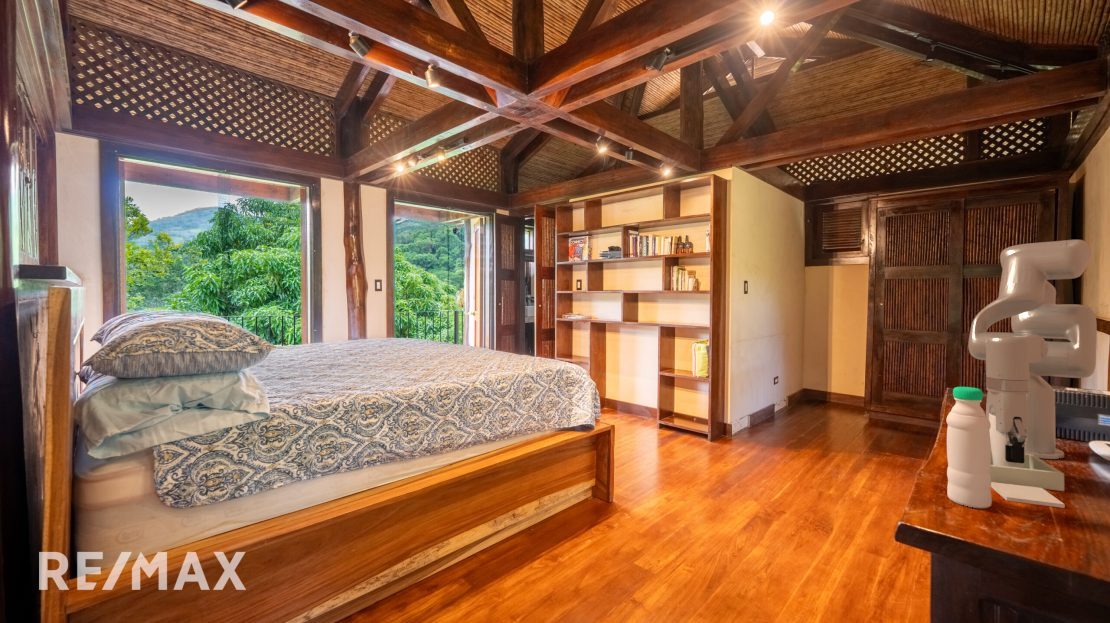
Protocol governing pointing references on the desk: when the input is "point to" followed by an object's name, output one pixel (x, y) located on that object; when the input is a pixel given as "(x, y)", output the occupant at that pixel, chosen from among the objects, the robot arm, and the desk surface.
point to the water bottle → (968, 450)
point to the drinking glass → (1001, 445)
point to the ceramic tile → (1026, 494)
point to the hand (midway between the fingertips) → (1008, 456)
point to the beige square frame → (1029, 474)
